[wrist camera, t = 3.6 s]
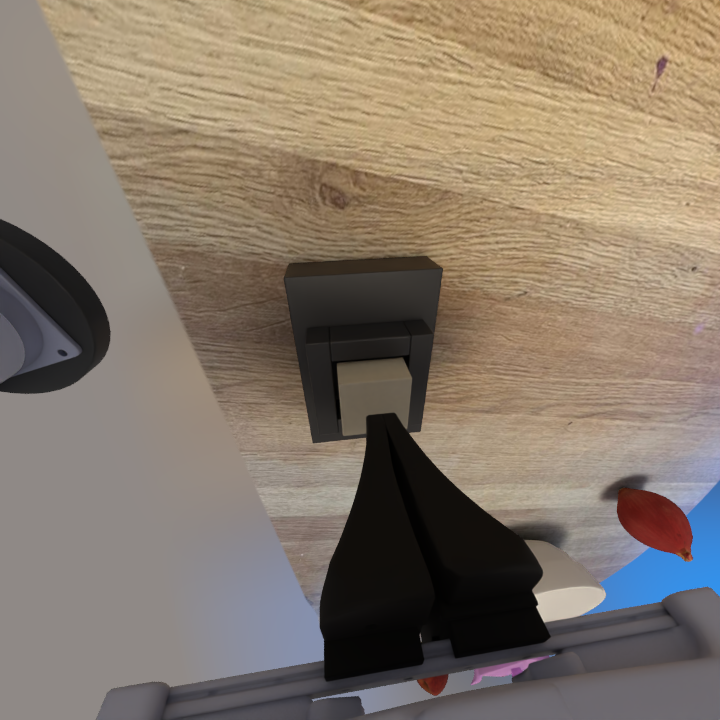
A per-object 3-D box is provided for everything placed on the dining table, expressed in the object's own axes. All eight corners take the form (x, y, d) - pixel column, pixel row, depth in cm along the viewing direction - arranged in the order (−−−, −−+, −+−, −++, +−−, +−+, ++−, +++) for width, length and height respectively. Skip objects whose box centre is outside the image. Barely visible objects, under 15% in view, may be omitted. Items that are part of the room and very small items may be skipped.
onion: (656, 473, 34) (737, 545, 27) (626, 500, 37) (693, 570, 30) (616, 475, 33) (691, 549, 26) (589, 502, 36) (650, 575, 30)
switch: (399, 405, 17) (407, 429, 15) (340, 411, 17) (342, 436, 15) (402, 356, 15) (412, 378, 13) (336, 362, 15) (338, 384, 13)
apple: (421, 638, 64) (433, 692, 57) (447, 638, 66) (461, 689, 60) (404, 649, 67) (413, 700, 60) (430, 648, 70) (441, 697, 63)
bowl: (421, 574, 43) (437, 639, 37) (503, 512, 35) (541, 582, 29) (504, 582, 49) (529, 638, 43) (589, 530, 41) (635, 590, 35)
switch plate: (411, 407, 23) (428, 451, 19) (313, 416, 22) (312, 464, 19) (426, 255, 16) (458, 278, 13) (288, 263, 16) (278, 290, 12)
